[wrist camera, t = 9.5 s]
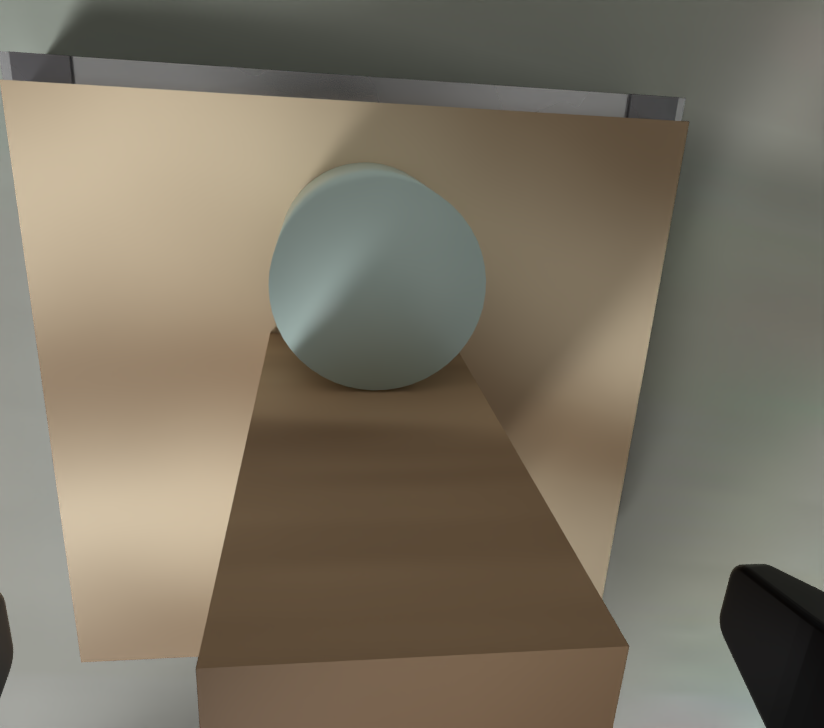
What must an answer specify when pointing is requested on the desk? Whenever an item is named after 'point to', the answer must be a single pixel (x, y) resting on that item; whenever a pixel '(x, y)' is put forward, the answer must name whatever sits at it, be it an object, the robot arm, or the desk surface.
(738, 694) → the desk surface
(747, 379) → the desk surface
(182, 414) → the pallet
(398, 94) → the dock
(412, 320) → the grey-green round cylinder
